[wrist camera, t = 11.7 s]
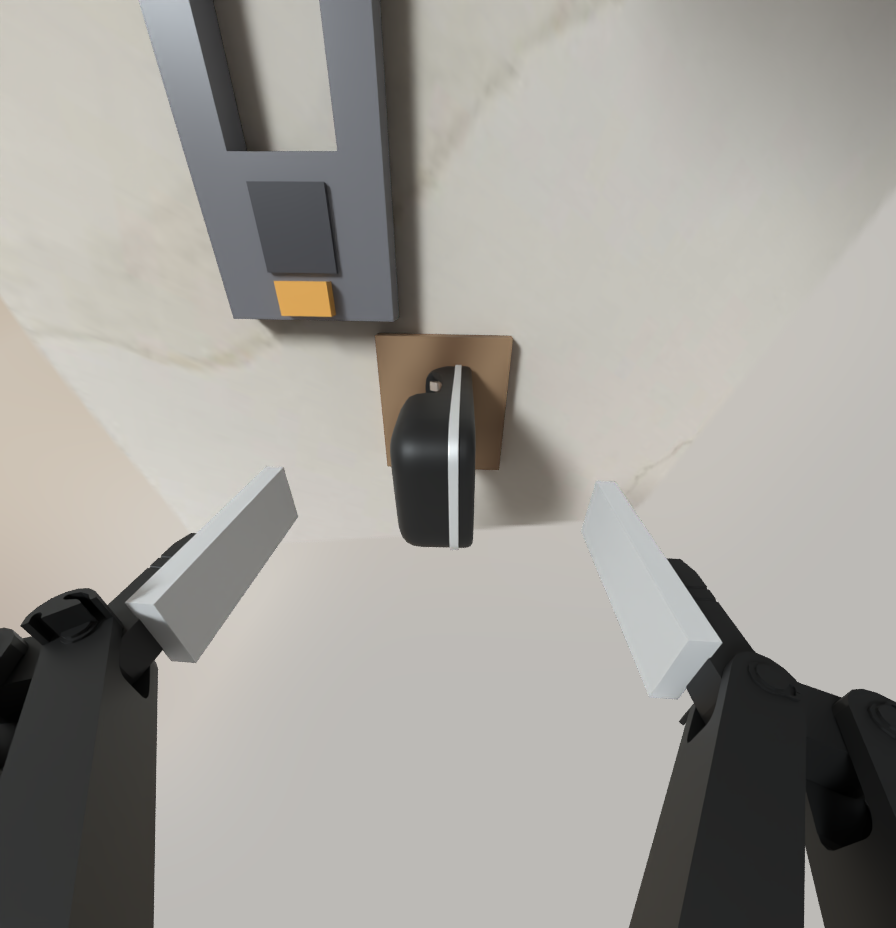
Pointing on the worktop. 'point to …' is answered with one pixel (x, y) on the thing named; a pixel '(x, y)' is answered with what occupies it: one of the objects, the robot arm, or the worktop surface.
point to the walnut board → (419, 354)
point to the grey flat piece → (288, 172)
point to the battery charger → (436, 461)
